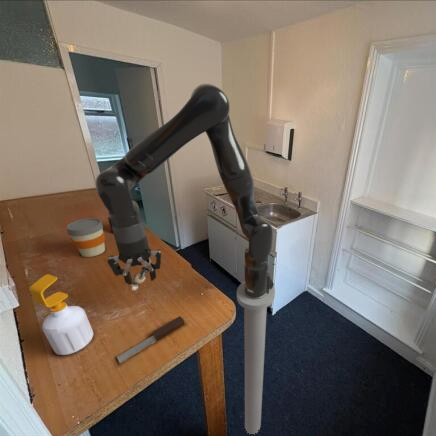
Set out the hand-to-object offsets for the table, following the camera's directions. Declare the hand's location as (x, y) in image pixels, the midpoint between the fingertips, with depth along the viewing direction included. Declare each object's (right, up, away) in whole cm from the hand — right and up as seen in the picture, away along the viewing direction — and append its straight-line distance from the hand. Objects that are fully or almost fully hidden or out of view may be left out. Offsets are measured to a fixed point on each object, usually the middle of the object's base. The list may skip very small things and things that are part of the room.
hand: (141, 280), depth 75 cm
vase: (0, -2, +1) cm, 2 cm away
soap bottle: (-18, -18, -3) cm, 26 cm away
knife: (+5, -19, 0) cm, 19 cm away
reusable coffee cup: (-47, +4, +37) cm, 60 cm away
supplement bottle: (-49, +13, +56) cm, 76 cm away
